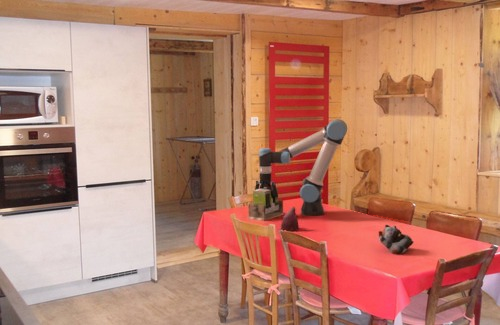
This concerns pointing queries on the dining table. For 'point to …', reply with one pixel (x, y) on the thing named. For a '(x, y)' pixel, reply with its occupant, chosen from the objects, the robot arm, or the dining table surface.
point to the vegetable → (290, 221)
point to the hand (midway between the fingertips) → (266, 207)
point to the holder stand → (259, 212)
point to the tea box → (265, 199)
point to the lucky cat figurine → (395, 239)
